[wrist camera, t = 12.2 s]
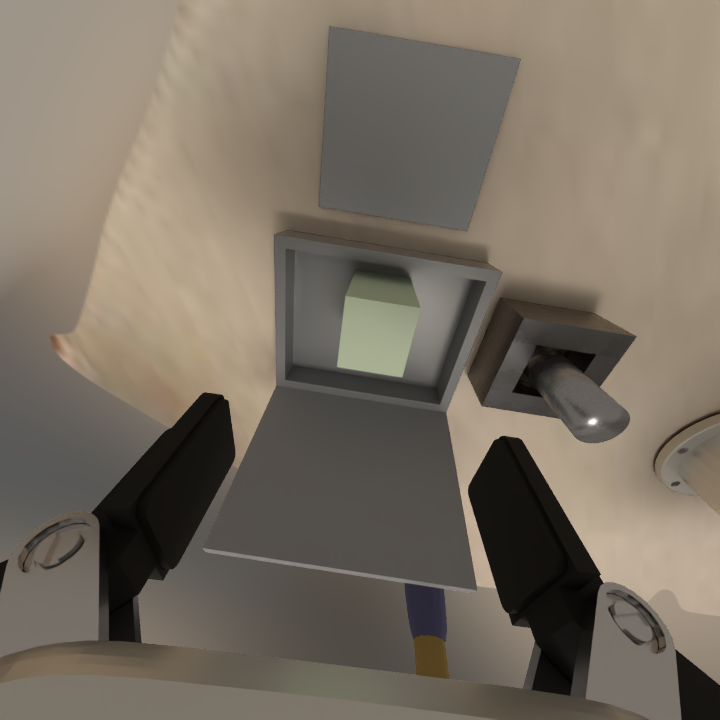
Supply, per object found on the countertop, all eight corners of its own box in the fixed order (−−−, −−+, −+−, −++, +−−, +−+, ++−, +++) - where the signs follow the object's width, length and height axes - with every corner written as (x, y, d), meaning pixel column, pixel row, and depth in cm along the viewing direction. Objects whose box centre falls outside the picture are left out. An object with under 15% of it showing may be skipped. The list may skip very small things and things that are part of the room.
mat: (517, 62, 16) (521, 58, 16) (465, 230, 21) (467, 231, 20) (331, 30, 16) (329, 25, 16) (320, 206, 21) (319, 206, 20)
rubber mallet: (415, 448, 33) (533, 1387, 7) (467, 470, 34) (730, 1331, 8) (366, 501, 39) (332, 1110, 13) (412, 518, 40) (464, 1104, 14)
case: (488, 263, 22) (502, 272, 19) (440, 393, 28) (446, 412, 26) (287, 230, 22) (274, 234, 19) (286, 368, 28) (276, 385, 26)
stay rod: (550, 335, 24) (641, 410, 16) (534, 363, 26) (609, 446, 17) (517, 329, 24) (589, 401, 16) (503, 358, 26) (563, 438, 17)
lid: (477, 590, 16) (472, 593, 16) (446, 412, 26) (443, 417, 26) (202, 548, 16) (205, 552, 16) (276, 385, 26) (277, 391, 26)
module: (410, 278, 22) (420, 308, 16) (397, 333, 25) (402, 377, 19) (355, 269, 22) (345, 296, 16) (348, 325, 25) (336, 367, 19)
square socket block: (594, 313, 23) (636, 336, 19) (547, 389, 27) (574, 420, 23) (500, 297, 23) (524, 318, 19) (467, 376, 27) (481, 406, 23)
